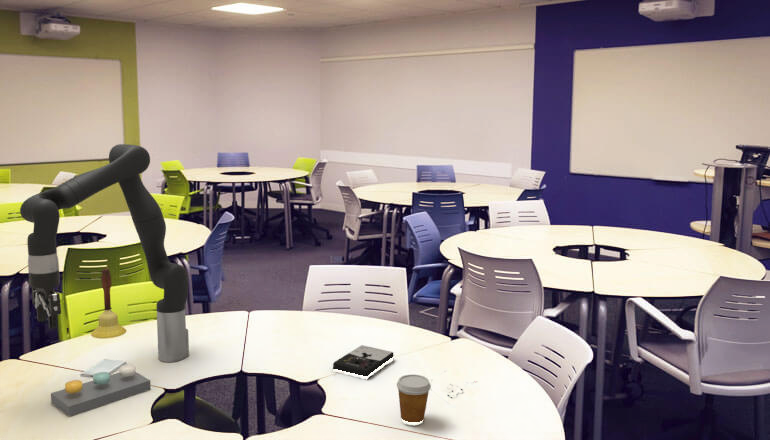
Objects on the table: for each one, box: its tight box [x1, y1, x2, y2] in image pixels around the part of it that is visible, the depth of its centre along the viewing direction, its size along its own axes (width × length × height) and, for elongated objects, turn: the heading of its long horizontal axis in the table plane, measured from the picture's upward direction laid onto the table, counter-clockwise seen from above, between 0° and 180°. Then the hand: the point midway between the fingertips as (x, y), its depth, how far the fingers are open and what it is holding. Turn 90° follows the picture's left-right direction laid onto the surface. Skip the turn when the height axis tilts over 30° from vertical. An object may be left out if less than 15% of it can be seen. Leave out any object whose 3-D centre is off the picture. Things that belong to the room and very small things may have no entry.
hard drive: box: [79, 358, 127, 379], centre depth 204 cm, size 2×8×12 cm
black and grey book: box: [332, 344, 395, 376], centre depth 213 cm, size 13×19×5 cm
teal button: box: [92, 372, 110, 385], centre depth 185 cm, size 4×4×2 cm
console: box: [50, 371, 152, 417], centre depth 185 cm, size 24×12×3 cm, turn 139°
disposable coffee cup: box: [396, 374, 432, 422], centre depth 175 cm, size 10×10×12 cm
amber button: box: [64, 379, 83, 393], centre depth 179 cm, size 4×4×2 cm
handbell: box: [90, 267, 127, 339], centre depth 235 cm, size 12×12×25 cm
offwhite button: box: [119, 363, 137, 377], centre depth 191 cm, size 4×4×2 cm
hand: (47, 324), depth 177 cm, fingers open, 8 cm apart
